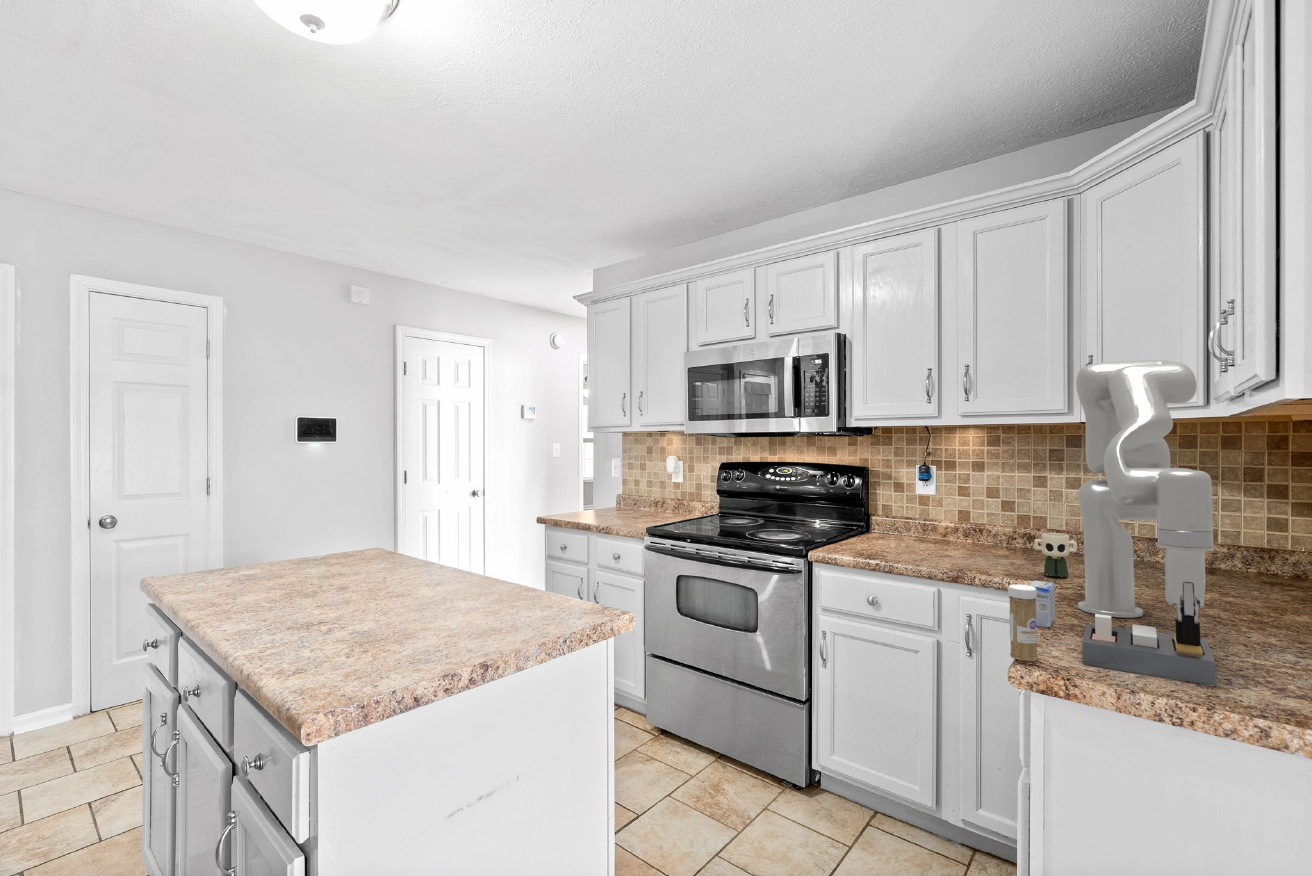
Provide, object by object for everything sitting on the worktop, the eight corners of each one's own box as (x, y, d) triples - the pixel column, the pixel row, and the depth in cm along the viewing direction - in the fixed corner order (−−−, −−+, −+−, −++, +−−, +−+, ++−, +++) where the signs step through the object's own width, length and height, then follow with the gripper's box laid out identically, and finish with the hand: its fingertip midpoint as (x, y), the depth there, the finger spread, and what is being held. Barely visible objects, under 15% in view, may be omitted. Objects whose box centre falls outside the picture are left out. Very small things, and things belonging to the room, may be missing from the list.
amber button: (1174, 646, 113) (1173, 636, 114) (1198, 649, 111) (1198, 639, 111) (1176, 658, 107) (1176, 647, 107) (1202, 661, 105) (1202, 651, 105)
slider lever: (1093, 638, 118) (1092, 612, 118) (1115, 641, 116) (1114, 615, 116) (1092, 644, 114) (1091, 616, 115) (1115, 647, 112) (1114, 619, 112)
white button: (1132, 633, 117) (1132, 624, 117) (1155, 636, 115) (1155, 627, 115) (1132, 644, 111) (1132, 634, 111) (1157, 648, 109) (1157, 637, 109)
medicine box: (1033, 617, 144) (1032, 579, 144) (1055, 620, 141) (1054, 582, 142) (1027, 624, 138) (1026, 585, 138) (1051, 628, 135) (1050, 588, 135)
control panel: (1087, 643, 124) (1086, 623, 124) (1206, 661, 113) (1206, 639, 113) (1082, 664, 112) (1082, 642, 112) (1216, 686, 101) (1215, 661, 102)
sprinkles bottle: (1030, 664, 113) (1028, 590, 113) (1005, 657, 117) (1003, 585, 117) (1042, 659, 115) (1041, 586, 116) (1017, 652, 119) (1015, 582, 119)
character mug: (1034, 577, 188) (1033, 534, 189) (1035, 573, 194) (1034, 531, 195) (1078, 580, 183) (1077, 536, 183) (1077, 576, 189) (1076, 534, 189)
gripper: (1156, 533, 118) (1159, 630, 117) (1159, 543, 106) (1162, 651, 106) (1208, 536, 113) (1212, 637, 113) (1218, 546, 101) (1221, 659, 101)
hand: (1188, 643), depth 109 cm, fingers closed
